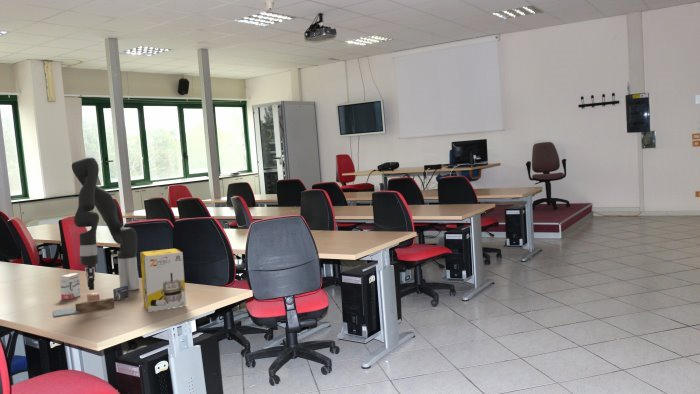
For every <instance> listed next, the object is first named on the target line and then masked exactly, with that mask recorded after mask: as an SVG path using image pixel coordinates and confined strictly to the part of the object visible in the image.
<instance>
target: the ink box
mask: <svg viewBox="0 0 700 394" xmlns="http://www.w3.org/2000/svg"><path fill="white" fill-rule="evenodd" d="M59 280H60V294H61V295H60V297H61V300H72V299H75V298H79V297H80V296H81V285H80V273H78V272H73V273H68V274H67V273H66V274H64V275H61V276H60V279H59Z"/></svg>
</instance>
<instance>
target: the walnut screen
mask: <svg viewBox="0 0 700 394" xmlns="http://www.w3.org/2000/svg"><path fill="white" fill-rule="evenodd" d="M75 307H76V312H77V311H79V313H84V312H90V311H98V310H103V309H105V310H106V309H110V308H115V301H114V297H110V298H104V299H101V298H100V300H95V301H88V302H87V301H83V302H76V303H75Z"/></svg>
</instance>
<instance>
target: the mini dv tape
mask: <svg viewBox="0 0 700 394" xmlns="http://www.w3.org/2000/svg"><path fill="white" fill-rule="evenodd" d="M112 292H113V298H114V302H120V301H123V300H126V299H128V298H129V291H128V286H123V287H120V286H119V287H116V288H114V289H113V290H112Z"/></svg>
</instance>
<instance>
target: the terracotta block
mask: <svg viewBox="0 0 700 394" xmlns="http://www.w3.org/2000/svg"><path fill="white" fill-rule="evenodd" d="M86 300H87V301H86V302H88V301H95V300H101V297H100V293H99V292H92V293H86Z"/></svg>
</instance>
